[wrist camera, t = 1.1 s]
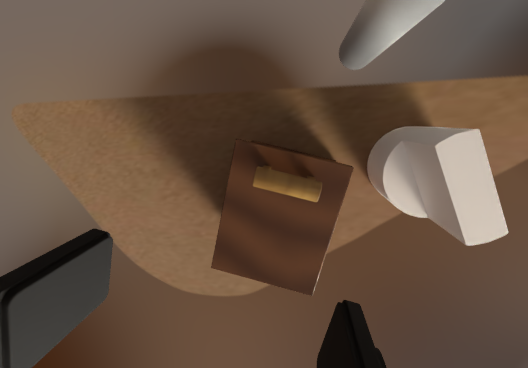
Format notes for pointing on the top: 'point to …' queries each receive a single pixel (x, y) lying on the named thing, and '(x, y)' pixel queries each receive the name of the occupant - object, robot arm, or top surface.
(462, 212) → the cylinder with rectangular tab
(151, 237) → the top surface
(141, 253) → the top surface
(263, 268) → the compartment lid
